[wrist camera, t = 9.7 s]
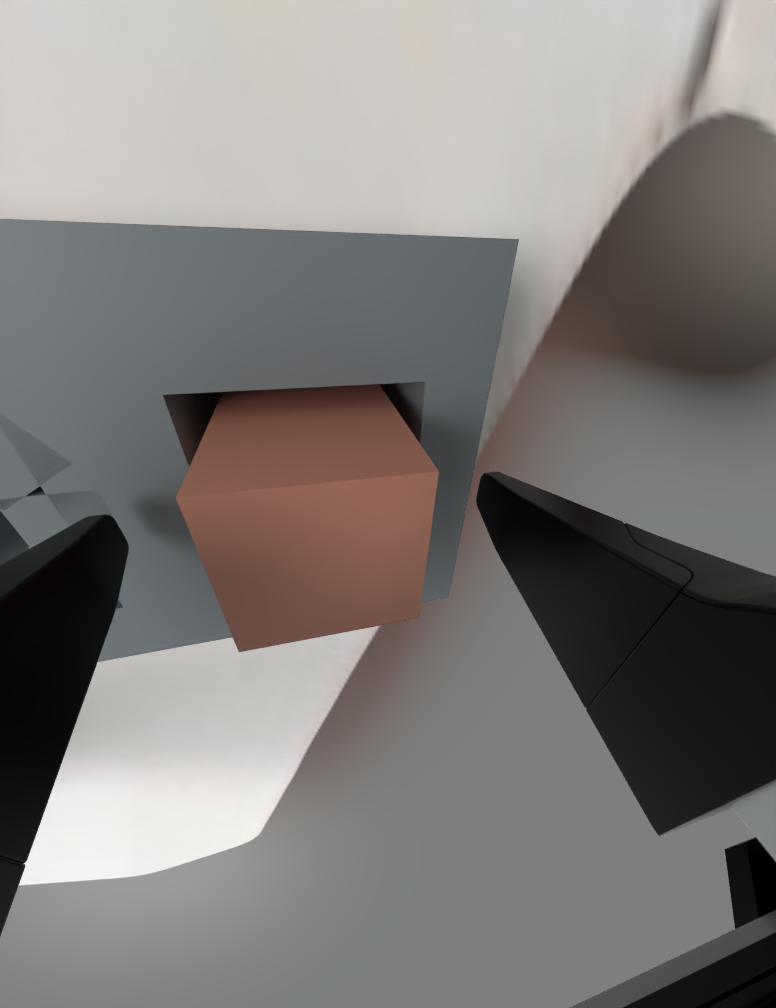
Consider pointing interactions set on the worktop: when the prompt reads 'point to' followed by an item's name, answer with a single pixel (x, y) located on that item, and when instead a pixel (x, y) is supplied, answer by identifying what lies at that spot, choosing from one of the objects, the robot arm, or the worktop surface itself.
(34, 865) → the worktop surface
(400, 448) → the square peg
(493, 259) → the socket block
